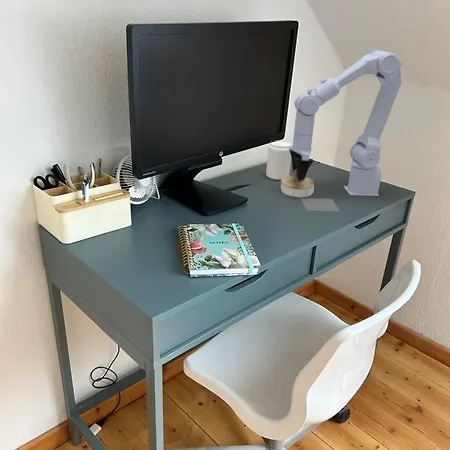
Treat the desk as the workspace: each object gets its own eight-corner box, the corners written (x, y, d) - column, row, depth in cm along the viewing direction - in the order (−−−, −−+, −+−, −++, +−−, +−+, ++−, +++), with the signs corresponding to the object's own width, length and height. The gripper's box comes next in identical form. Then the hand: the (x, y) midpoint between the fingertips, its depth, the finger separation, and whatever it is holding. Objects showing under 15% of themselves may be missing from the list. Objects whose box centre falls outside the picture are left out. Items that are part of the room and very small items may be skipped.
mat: (331, 200, 156) (331, 198, 156) (340, 212, 147) (340, 211, 146) (300, 199, 155) (300, 198, 155) (306, 211, 146) (306, 210, 146)
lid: (311, 179, 164) (312, 166, 162) (315, 190, 155) (317, 176, 153) (279, 177, 164) (281, 164, 162) (282, 188, 154) (283, 174, 153)
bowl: (308, 187, 165) (309, 179, 164) (315, 198, 156) (316, 189, 155) (278, 186, 165) (279, 178, 163) (283, 197, 156) (284, 188, 154)
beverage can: (290, 181, 170) (293, 147, 165) (266, 180, 170) (269, 146, 165) (287, 173, 178) (291, 141, 173) (265, 172, 178) (268, 139, 173)
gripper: (286, 127, 159) (282, 168, 164) (294, 139, 146) (290, 183, 151) (308, 128, 159) (303, 168, 165) (318, 140, 146) (312, 183, 152)
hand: (298, 175), depth 158 cm, fingers open, 7 cm apart
